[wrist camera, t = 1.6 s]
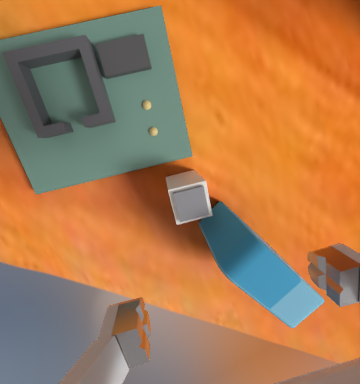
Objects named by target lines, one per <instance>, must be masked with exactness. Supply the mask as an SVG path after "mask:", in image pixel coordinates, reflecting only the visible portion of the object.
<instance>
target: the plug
mask: <svg viewBox="0 0 360 384" xmlns="http://www.w3.org/2000/svg"><path fill="white" fill-rule="evenodd" d="M166 183H167V188H168V193H169V197H170V200H171V204H172V208H173V212H174V216H175V220H176V224H177V225H179V224H183V223H186V222H190V221H194V220H198V219H202V218H206V217H210V216H213V215H212V210H211V205H210V200H209V195H208V190H207V184H206V180H204V179H203V178H202V177H201V176H200V175H199V174H198V173H197V172H196V171H195V170H191V171H187V172H183V173H179V174H175V175H171V176H167V177H166Z"/></svg>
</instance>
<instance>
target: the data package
mask: <svg viewBox="0 0 360 384" xmlns="http://www.w3.org/2000/svg"><path fill="white" fill-rule="evenodd" d="M211 210H212V215H213V216H210V217H206V218H203V219H202V220H201V221H200V222H199V226H200V228H201V231H202V233H203V235H204V237H205V239H206V241H207V244H208V246H209V248H210V250H211V252H212V254H213V257H214V259H215V261H216V263H217V265H218V267H219V268H220V270H221V271H222V272H223V274H224V275H225V276H226V277H227V278H228V279H229V280H230V281H231V282H233V283H234V284H235V285H236V286H238V287H239V288H240V289H241V290H243V291H244V292H245V293H247V294H248V295H249V296H250V297H252V298H253V299H254V300H256V301H257V302H258V303H259V304H261V305H262V306H263V307H264V308H266V309H267V310H268V311H270V312H271V313H272V314H273V315H275V316H276V317H277V318H279V319H280V320H281V321H282V322H284V323H285V324H286V325H287V326H289V327H291V328H294V327H296V326H297V325H298V324H299V323H300V322H301V321H303V320H304V319H305V318H306V317H307V316H308V315H310V314H311V313H312V312H313V311H314V310H316V309H317V308H318V307H319V306H320V305H321V304H323V303H324V299H323V298H322V297H321V296H320V295H319V294H318V293H317V292H316V291H315V290H314V289H313V288H312V287H311V286H310V285H309V284H308V283H307V282H306V281H305V280H304V279H303V278H302V277H301V276H300V275H299V274H298V273H297V272H296V271H295V270H294V269H293V268H292V267H291V266H290V265H289V264H288V263H287V262H286V261H285V260H284V259H283V258H282V257H281V256H280V255H279V254H277V253H276V252H275V251H274V250H273V249H272V248H271V247H270V246H269V245H268V244H267V243H266V242H265V241H264V240H263V239H262V238H261V237H260V236H259V235H257V234H256V233H255V232H254V231H253V230H252V229H251V228H250V227H249V226H248V225H247V224H245V223H244V222H243V221H242V220H241V219H240V218H239V217H238V216H237V215H236V214H235V213H234V212H232V211H231V210H230V209H229V208H228V207H227V206H226V205H225V204H224V203H223V202H221V201H219V202H218V203H217V204H216V205H215V206H214V207H213V208H212V209H211Z"/></svg>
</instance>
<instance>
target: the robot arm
mask: <svg viewBox="0 0 360 384" xmlns="http://www.w3.org/2000/svg"><path fill="white" fill-rule="evenodd" d="M308 260H309V261H310V262H311V263H310V265H309V266H308V272H309V275H310V277H311V279H312V281H313V282H314V283H315V284H316V285H317V286H318V287H319V288H321V289H324V290H326V293H327V296H328V297H330V298H331V299H332V300H333V301H334V302H335V303H336V304H337V305H338V306H339V307H342V306H346V305H350V304H354V303H358V302H359V303H360V254H359V253H358V252H356V251H354V250H352V249H351V248H349V247H347V246H345V245H344V244H340V243H338V244H334V245H331V246H328V247H325V248H321V249H318V250H314V251H310V252H309V253H308ZM144 305H145V304H144V301H143V298H137V299H133V300H129V301H125V302H121V303H117V304H113V305H110V306H109V307H108V308H107V311H106V314H105V318H104V321H103V324H102V328H101V331H100V334H99V338H98V340H96V341H94V342H93V343H92V344H91V346H90V347H89V348H88V349H87V350H86V352H85V353H84V354H83V355H82V356H81V358H80V359H79V360H78V361H77V362H76V364H75V365H74V366H73V367H72V368H71V369H70V371H69V372H68V373H67V374H66V375H65V377H64V378H63V379H62V380H61V381H60V383H59V384H122V383H123V381H124V379H125V377H126V374H127V373H128V371H129V368H131V367H134V366H137V365H140V364H143V363H146V362H149V357H150V344H149V341H148V338H149V336H150V320H149V315H148V312H147V311H146V310H144ZM274 384H360V358H357V359H354V360H351V361H347V362H344V363H341V364H337V365H334V366H331V367H328V368H325V369H321V370H317V371H314V372H311V373H308V374H304V375H301V376H298V377H294V378H291V379H288V380H284V381H281V382H278V383H274Z"/></svg>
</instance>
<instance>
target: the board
mask: <svg viewBox="0 0 360 384" xmlns="http://www.w3.org/2000/svg"><path fill="white" fill-rule="evenodd" d="M0 118H1V120H2V122H3V124H4V126H5V129H6V131H7V133H8V135H9V137H10V139H11V142H12V144H13V146H14V148H15V150H16V152H17V154H18V157H19V159H20V161H21V163H22V165H23V167H24V170H25V172H26V174H27V176H28V178H29V180H30V183H31V185H32V187H33V189H34V191H35V193H36V194H40V193H44V192H48V191H52V190H57V189H61V188H65V187H69V186H73V185H77V184H81V183H85V182H89V181H93V180H97V179H102V178H106V177H110V176H114V175H118V174H122V173H126V172H130V171H134V170H138V169H142V168H146V167H151V166H155V165H159V164H163V163H167V162H171V161H175V160H179V159H183V158H187V157H191V156H192V151H191V147H190V142H189V137H188V132H187V128H186V123H185V118H184V113H183V108H182V104H181V99H180V94H179V89H178V84H177V80H176V75H175V70H174V65H173V60H172V56H171V51H170V46H169V41H168V36H167V32H166V27H165V22H164V17H163V12H162V8H161V6H157V7H152V8H147V9H143V10H138V11H133V12H128V13H124V14H119V15H114V16H110V17H105V18H100V19H96V20H91V21H86V22H82V23H77V24H72V25H68V26H63V27H58V28H54V29H49V30H44V31H39V32H35V33H30V34H25V35H21V36H16V37H11V38H7V39H2V40H0Z"/></svg>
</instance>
